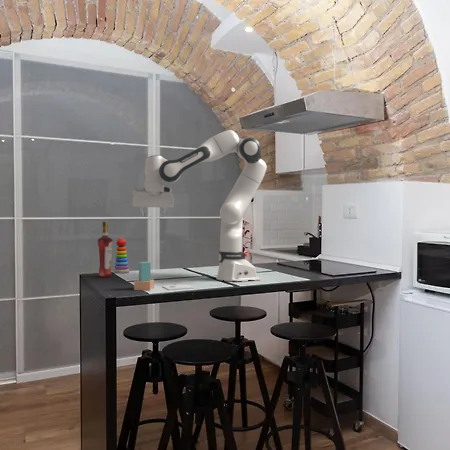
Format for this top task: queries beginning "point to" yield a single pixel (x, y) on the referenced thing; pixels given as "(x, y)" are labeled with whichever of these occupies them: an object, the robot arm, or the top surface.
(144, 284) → the base brick
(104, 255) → the liquor
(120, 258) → the stacking toy
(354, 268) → the top surface
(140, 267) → the teal brick
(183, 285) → the plate
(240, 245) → the robot arm
